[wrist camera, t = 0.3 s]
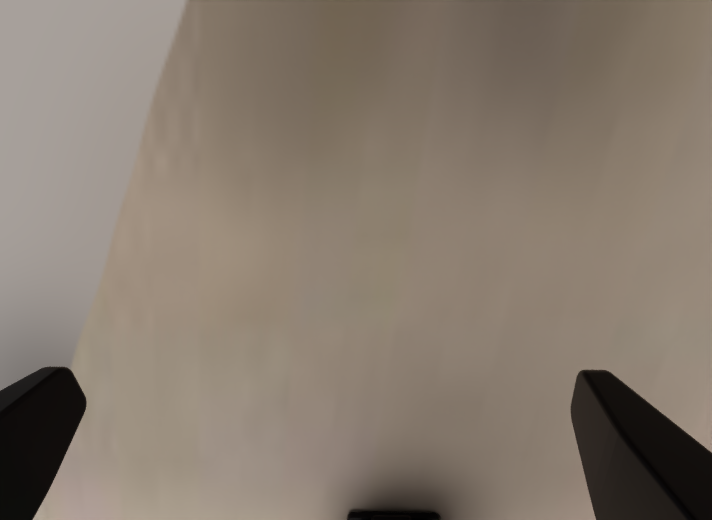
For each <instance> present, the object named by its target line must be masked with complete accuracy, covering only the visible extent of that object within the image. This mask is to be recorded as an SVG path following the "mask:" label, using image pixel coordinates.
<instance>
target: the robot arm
mask: <svg viewBox="0 0 712 520" xmlns="http://www.w3.org/2000/svg"><path fill="white" fill-rule="evenodd" d="M85 410H86V397H85V395H84V393H83V391H82V389H81V387H80V386H79V384H78V382H77V380H76V378H75V376H74V374H73V372H72V371H71V370H70V369H68V368H67V367H45V368H41V369H39V370H38V371H36V372H34V373H32V374H30V375H28V376H27V377H25V378H23V379H21V380H19V381H17V382H16V383H14V384H12V385H10V386H8V387H6V388H4V389H3V390H1V391H0V520H33V518H34V516H35V514H36V513H37V511H38V509H39V507H40V506H41V504H42V502H43V500H44V498H45V496H46V494H47V493H48V491H49V489H50V487H51V485H52V483H53V480H54V478H55V476H56V474H57V472H58V470H59V467H60V465H61V463H62V461H63V459H64V456H65V454H66V452H67V450H68V448H69V445H70V443H71V441H72V439H73V437H74V434H75V432H76V430H77V428H78V426H79V423H80V421H81V419H82V417H83V415H84V412H85ZM571 419H572V424H573V428H574V432H575V436H576V440H577V444H578V448H579V453H580V457H581V461H582V465H583V469H584V473H585V478H586V482H587V486H588V490H589V494H590V498H591V502H592V506H593V510H594V514H595V517H596V520H712V453H711V452H710V451H709V450H708V449H706V448H705V447H704V446H703V445H701V444H700V443H699V442H697V441H696V440H695V439H694V438H692V437H691V436H690V435H689V434H687V433H686V432H685V431H684V430H682V429H681V428H680V427H679V426H677V425H676V424H675V423H674V422H672V421H671V420H670V419H669V418H667V417H666V416H665V415H663V414H662V413H661V412H660V411H658V410H657V409H656V408H655V407H653V406H652V405H651V404H650V403H648V402H647V401H646V400H645V399H643V398H642V397H641V396H640V395H638V394H637V393H636V392H635V391H633V390H632V389H631V388H629V387H628V386H627V385H626V384H624V383H623V382H622V381H621V380H619V379H618V378H617V377H616V376H614V375H613V374H612V373H610V372H608V371H606V370H582V371H580V372H579V373H578V375H577V378H576V383H575V388H574V393H573V398H572V403H571ZM347 520H440V516H439V515H438V514H436V513H418V512H352V513H349V514H348V517H347Z"/></svg>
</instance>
